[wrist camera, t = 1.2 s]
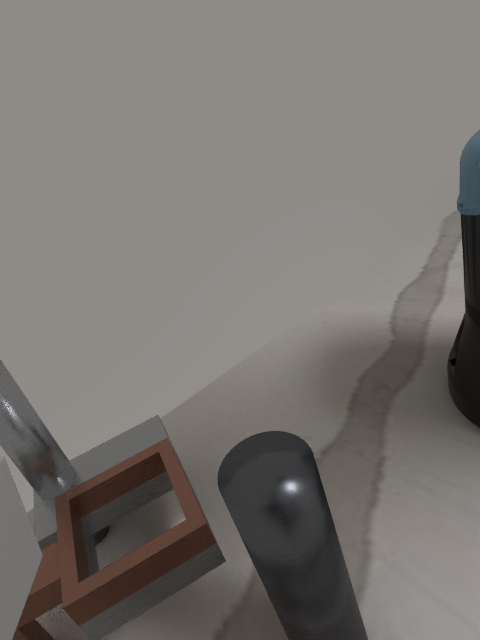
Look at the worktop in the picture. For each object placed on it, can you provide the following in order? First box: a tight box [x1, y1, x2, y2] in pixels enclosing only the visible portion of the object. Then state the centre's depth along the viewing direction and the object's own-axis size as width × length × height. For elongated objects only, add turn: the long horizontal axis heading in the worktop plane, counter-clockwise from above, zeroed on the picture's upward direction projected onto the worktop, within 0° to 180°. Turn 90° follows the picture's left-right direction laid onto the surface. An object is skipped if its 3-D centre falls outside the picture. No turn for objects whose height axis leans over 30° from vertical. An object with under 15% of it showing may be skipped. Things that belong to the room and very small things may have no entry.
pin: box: [218, 431, 368, 640], centre depth 24 cm, size 4×4×16 cm
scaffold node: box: [0, 361, 226, 640], centre depth 32 cm, size 16×15×18 cm
